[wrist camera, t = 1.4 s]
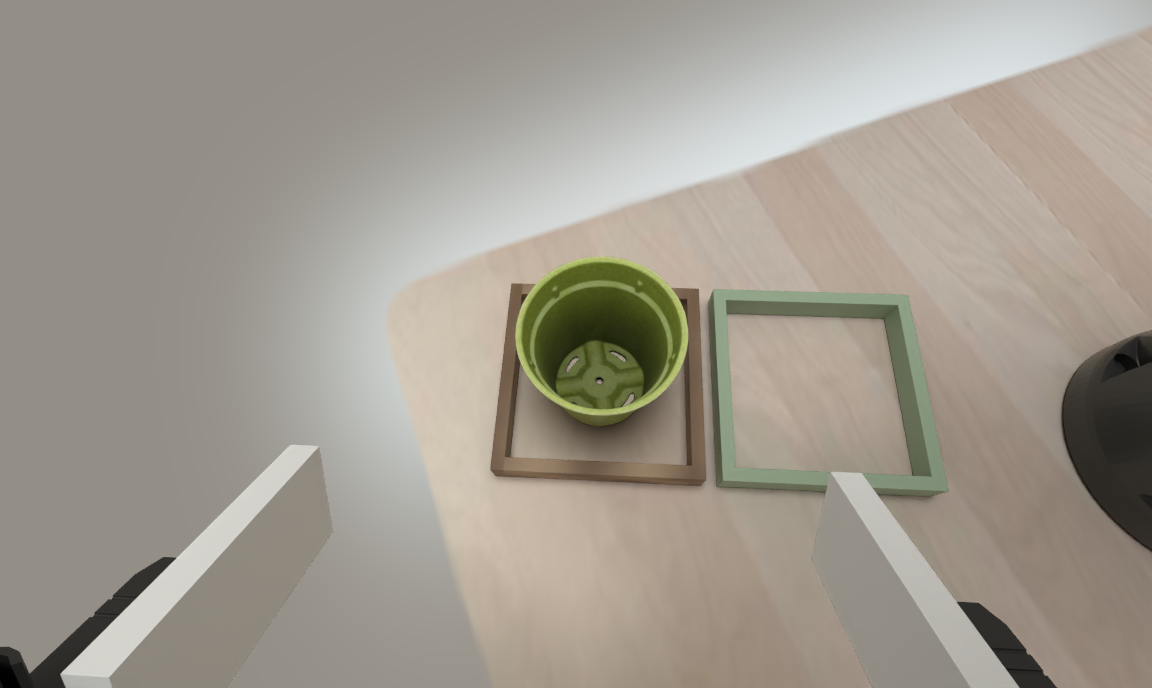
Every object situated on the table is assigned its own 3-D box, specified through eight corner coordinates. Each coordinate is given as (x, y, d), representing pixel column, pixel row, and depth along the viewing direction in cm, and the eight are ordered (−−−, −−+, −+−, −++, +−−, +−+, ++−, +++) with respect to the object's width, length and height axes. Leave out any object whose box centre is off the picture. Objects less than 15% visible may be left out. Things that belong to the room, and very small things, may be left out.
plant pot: (695, 364, 39) (720, 306, 31) (622, 480, 36) (629, 449, 28) (581, 300, 41) (577, 230, 33) (504, 403, 38) (480, 354, 30)
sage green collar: (893, 308, 40) (908, 294, 38) (930, 496, 35) (948, 491, 33) (708, 303, 41) (713, 289, 39) (716, 486, 35) (722, 480, 34)
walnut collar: (694, 302, 41) (698, 288, 39) (700, 485, 35) (705, 479, 34) (515, 297, 41) (511, 283, 39) (495, 475, 36) (490, 469, 34)
